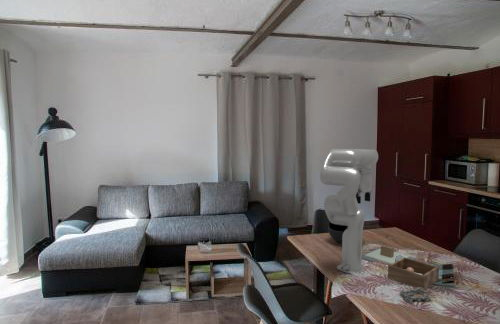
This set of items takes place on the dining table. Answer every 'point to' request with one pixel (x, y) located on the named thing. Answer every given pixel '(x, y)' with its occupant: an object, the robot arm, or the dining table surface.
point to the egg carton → (414, 292)
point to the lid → (384, 254)
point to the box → (410, 278)
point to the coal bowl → (336, 231)
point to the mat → (375, 260)
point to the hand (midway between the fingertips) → (362, 202)
